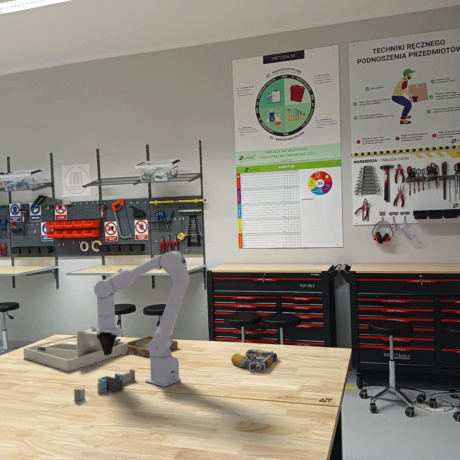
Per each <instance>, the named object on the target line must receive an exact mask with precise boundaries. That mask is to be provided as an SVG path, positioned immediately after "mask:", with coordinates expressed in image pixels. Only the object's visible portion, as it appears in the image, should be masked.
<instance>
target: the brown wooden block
mask: <svg viewBox="0 0 460 460" xmlns="http://www.w3.org/2000/svg"><path fill="white" fill-rule="evenodd" d="M140 338H141V339H151V340H152V339H153V338H154V335H148V336H145V337H140ZM138 339H139V338H138ZM138 339H134V340H131V341H128V342H126V343H128V352H130V353H129V354H131V353H134V354H133V355H135V354H139V355H138V356H140V355H142V356H141V357H144V356H147V357H146V358H148V357H150V353H149V351H148V349H144V348H139V347H136V346H135V345H136V342H137V340H138ZM178 346H179V345H178V341H177V340H173V339H172V344H171V346H170V347H169V349H170V350H171V351H172V350H173V349H174V350H176V348H177V349H178Z"/></svg>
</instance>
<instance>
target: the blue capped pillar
mask: <svg viewBox="0 0 460 460" xmlns="http://www.w3.org/2000/svg"><path fill="white" fill-rule="evenodd" d="M114 378H116V379H119V380H122V382H123V385H125V384H127V383H130V382H133V381H136V370H135V369H134V368H131V369H129V370H128V371H127V372H124V373H122V374H121V373H119V372H117V373H114ZM98 379H99V381H101V382H99V383H98V382H97V383H96V384H97V393H98V394H101V393H104V392H105V393H106V392H108V391H107V386H106V380H104V379H100V378H98ZM73 392H74V393H73V395H74V397H73V399H74V401H75V402H78V403H79V402H80V401H82V400H84V399H86V392H85V388H78V387H76V388H74V389H73Z"/></svg>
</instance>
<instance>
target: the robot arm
mask: <svg viewBox="0 0 460 460" xmlns="http://www.w3.org/2000/svg"><path fill="white" fill-rule="evenodd" d="M152 270H163V271H165V272H166V273H167V274H168V275H169V277H170V279H171V280H172V281H173V284H172V287H171V289H170V293H169V296H168V298H167V302H166V305H165V307H164V311H163V313H162V315H161V316H162V317H161V319H160V322H159V325H158V327H157V329H156V330H155V333H154V335H153V337H154V338H153V339H152V340H151V341H150V342H149V344H148V351H149V353H150V358H149V364H150V365H149V366H150V367H149V368H150V369H149V370H150V377H149V378H147V379H145V383H148V384H152V385H157V386H160V387H163V388H164V387H168V386H169V385H173V384H175V383H177V382H179V381H181V380H182V378H180V367H179V366H180V365H179V360H178V358H177V357H175V356H174V355H173V354H172V350H170V349H169V347H170V346H171V344H172V340H173V333H174V327H175V323H176V321H177V319H178V315H179V312H180V309H181V306H182V303H183V300H184V298H185V294H186V292H187V289H188V285H189V284H190V274H189V270H188V266H187V259H186V258H185V256H184V254H182V253H181V252H180V251H178V250H172V251H170V252H169V251H168V252H165V253H164V254H161V255H157V256H154V257H152V258H150V259H148V260H147V261H144V262H143V263H141V264H139V265H137V266H136V267H133V268H131V269H128V268H124V269H123V268H120V269H118V270H117V272H116V273H114V274H112V275H108V276H106V277H105V279H103V280H102V279H101V280H99V281H98V282H97V283H96V284H95V285H94V288H93V292H94V294H95V296H96V303H97V305H96V306H97V309H96V310H97V324H95V325H91V326H90V328H91V330H92V332H95V331H96V332H100V334H99V335H97V338H98V340H99V341H100V343H101V346H102V349H103V352H104V355H110V354H111V353H112V349H113V345H114V342H115V339H116V338H117V337H122V336H124V329H121V328H119V327H118V326H116V309H115V308H116V307H115V306H116V304H115V293H118V292H120V291H121V290H124V289H125V288H127V287H129V286H131V285H133V284H134V283H135V279H136V278H138V277H140V276H142V275H144V274H146V273H148V272H150V271H152Z"/></svg>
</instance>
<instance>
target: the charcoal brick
mask: <svg viewBox="0 0 460 460" xmlns="http://www.w3.org/2000/svg"><path fill="white" fill-rule="evenodd" d="M99 379H104V380H106V386H107V392H109V393H110V392H111V393H113V394H116V393H117V392H120V391H122V390H124V389H123V387H124V386H123V385H124V384H123V382H122V380H119V379H116V378H115V377H112V376H109V375H105V376H103V377H100V378H98V382H97V383H99V382H101V381H99Z"/></svg>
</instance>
